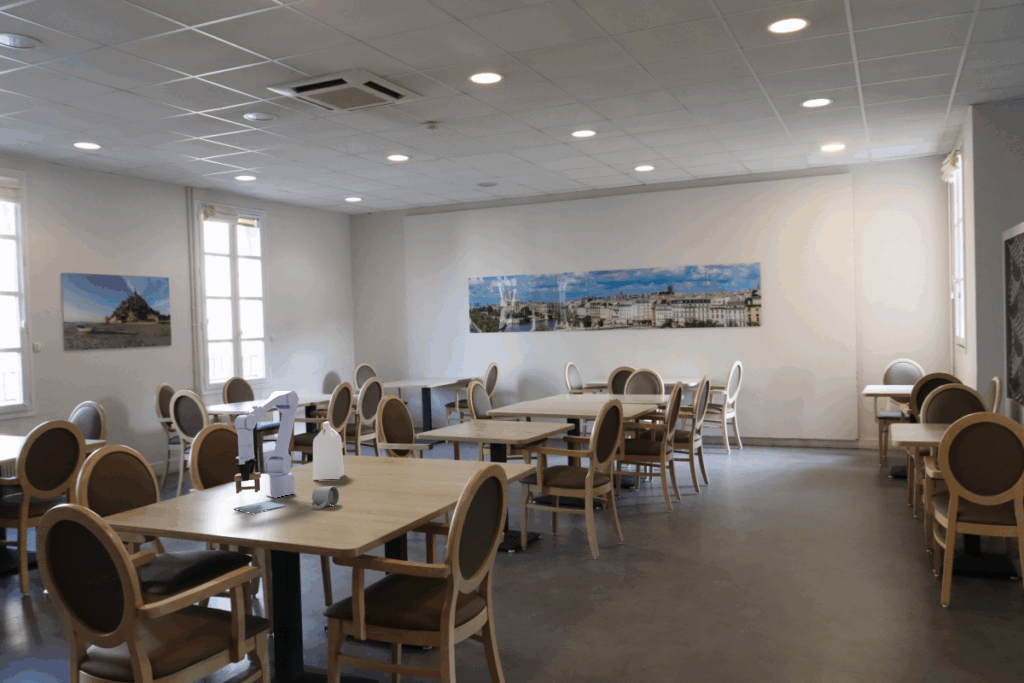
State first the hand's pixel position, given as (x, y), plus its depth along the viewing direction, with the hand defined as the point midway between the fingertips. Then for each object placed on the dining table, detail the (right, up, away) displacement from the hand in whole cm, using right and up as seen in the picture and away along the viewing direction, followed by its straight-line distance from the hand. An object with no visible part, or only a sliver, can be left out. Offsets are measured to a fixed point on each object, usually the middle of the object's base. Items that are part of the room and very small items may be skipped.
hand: (247, 479), depth 304 cm
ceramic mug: (+32, -9, -7) cm, 34 cm away
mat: (+6, -10, -5) cm, 13 cm away
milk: (+20, -9, +53) cm, 57 cm away
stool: (0, -5, 0) cm, 5 cm away
